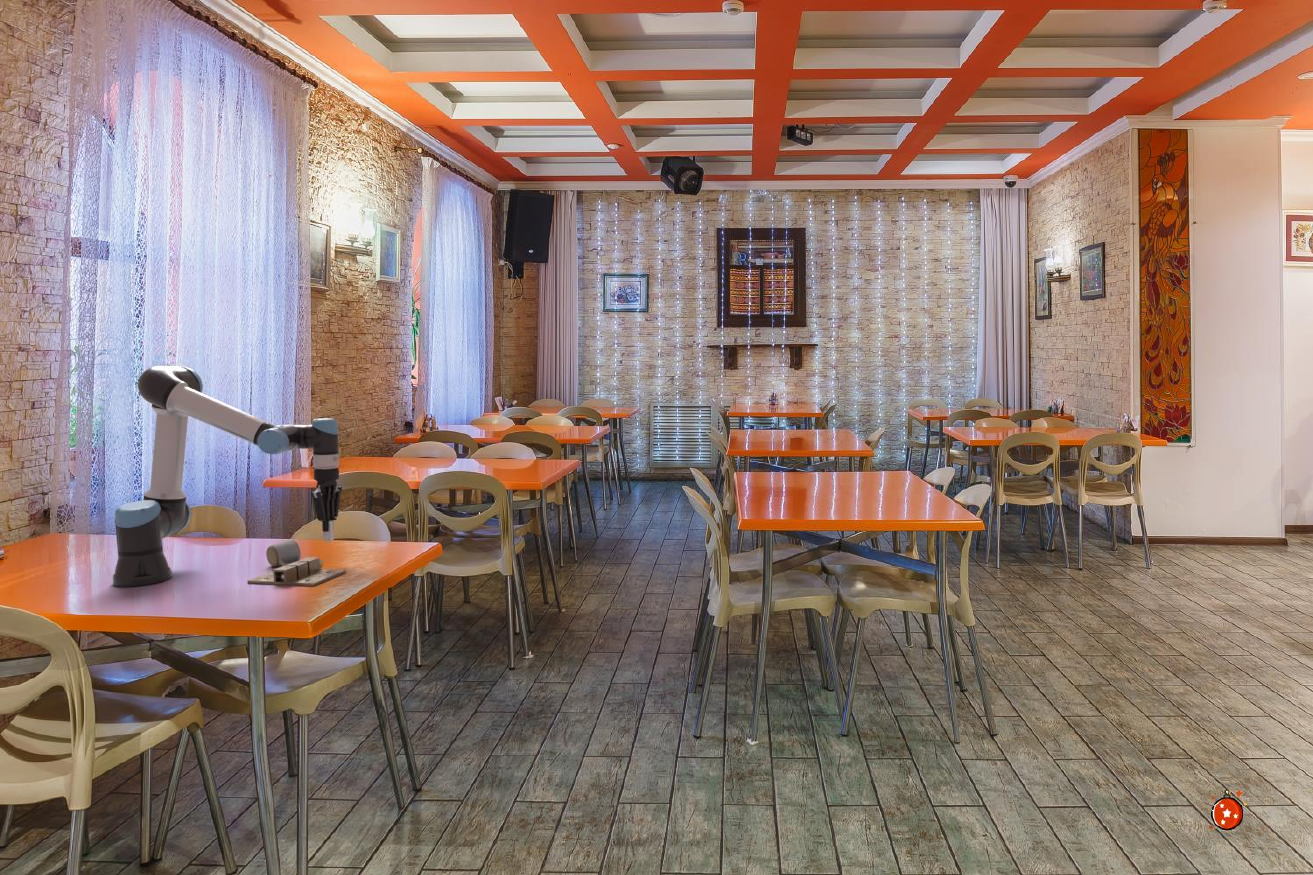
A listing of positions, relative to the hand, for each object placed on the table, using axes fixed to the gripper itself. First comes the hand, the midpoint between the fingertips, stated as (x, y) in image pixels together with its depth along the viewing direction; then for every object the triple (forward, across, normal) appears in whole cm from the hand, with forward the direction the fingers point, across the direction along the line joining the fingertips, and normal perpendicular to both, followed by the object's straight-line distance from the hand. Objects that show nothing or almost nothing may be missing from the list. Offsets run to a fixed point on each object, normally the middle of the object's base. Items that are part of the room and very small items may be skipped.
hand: (328, 540), depth 271 cm
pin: (+8, -16, -1) cm, 17 cm away
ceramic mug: (+8, -3, +13) cm, 16 cm away
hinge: (+8, -17, -1) cm, 19 cm away
